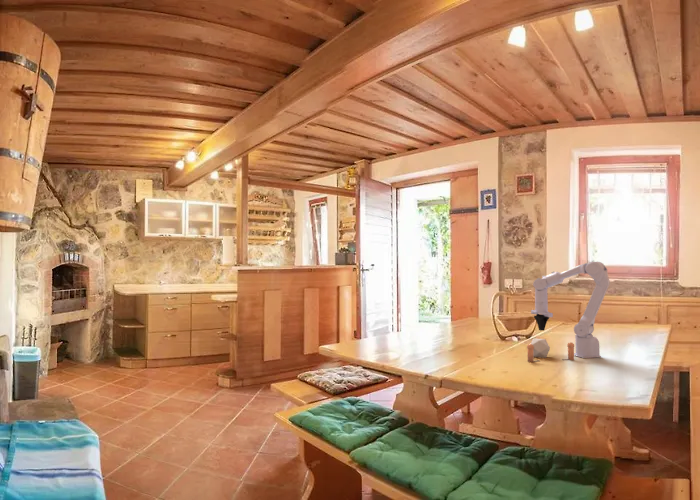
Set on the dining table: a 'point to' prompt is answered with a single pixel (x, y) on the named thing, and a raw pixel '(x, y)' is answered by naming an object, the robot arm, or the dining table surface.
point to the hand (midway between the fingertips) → (541, 330)
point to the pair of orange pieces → (570, 357)
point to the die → (540, 347)
